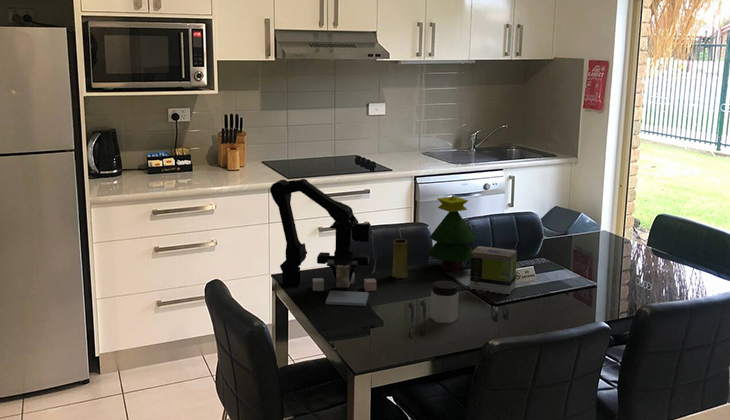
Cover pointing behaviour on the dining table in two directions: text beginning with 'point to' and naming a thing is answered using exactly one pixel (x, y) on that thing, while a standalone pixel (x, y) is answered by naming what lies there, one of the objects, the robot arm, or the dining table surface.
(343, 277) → the birch block
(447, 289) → the jar
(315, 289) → the off-white block
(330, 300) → the blue board
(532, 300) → the dining table surface
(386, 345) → the dining table surface
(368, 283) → the pink block
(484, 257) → the tea box
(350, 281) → the sage cylinder
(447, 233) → the decorative tree
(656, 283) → the dining table surface
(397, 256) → the vase
